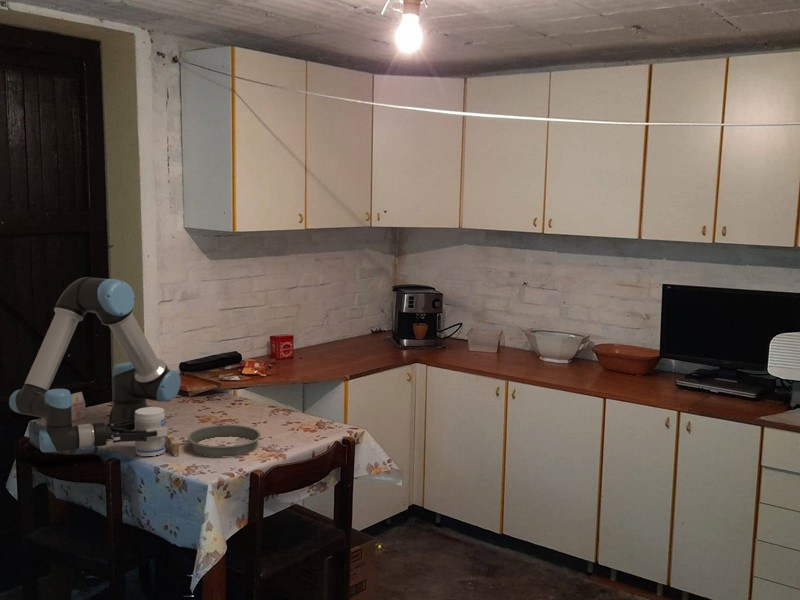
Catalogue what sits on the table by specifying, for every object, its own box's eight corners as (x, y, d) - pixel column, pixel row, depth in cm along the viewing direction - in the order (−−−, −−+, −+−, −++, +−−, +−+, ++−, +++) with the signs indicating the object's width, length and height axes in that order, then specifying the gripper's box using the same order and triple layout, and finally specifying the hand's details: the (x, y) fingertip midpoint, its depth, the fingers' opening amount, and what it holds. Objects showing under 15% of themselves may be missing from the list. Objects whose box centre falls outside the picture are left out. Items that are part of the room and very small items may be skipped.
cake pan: (227, 464, 250) (227, 451, 249) (172, 450, 262) (172, 437, 261) (275, 444, 271) (275, 432, 271) (222, 432, 283) (222, 420, 282)
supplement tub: (169, 455, 257) (168, 412, 255) (140, 459, 251) (139, 415, 249) (160, 446, 265) (159, 405, 263) (132, 451, 259) (131, 408, 257)
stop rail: (179, 456, 256) (178, 444, 255) (174, 456, 255) (174, 445, 255) (169, 443, 268) (169, 432, 267) (165, 444, 267) (164, 433, 267)
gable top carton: (63, 420, 291) (63, 394, 290) (78, 416, 297) (78, 391, 296) (70, 422, 289) (69, 396, 288) (85, 418, 295) (84, 392, 294)
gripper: (88, 436, 259) (156, 428, 269) (97, 457, 239) (171, 447, 250) (87, 414, 258) (155, 407, 268) (97, 433, 238) (170, 425, 249)
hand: (163, 426), depth 259 cm, fingers open, 10 cm apart
